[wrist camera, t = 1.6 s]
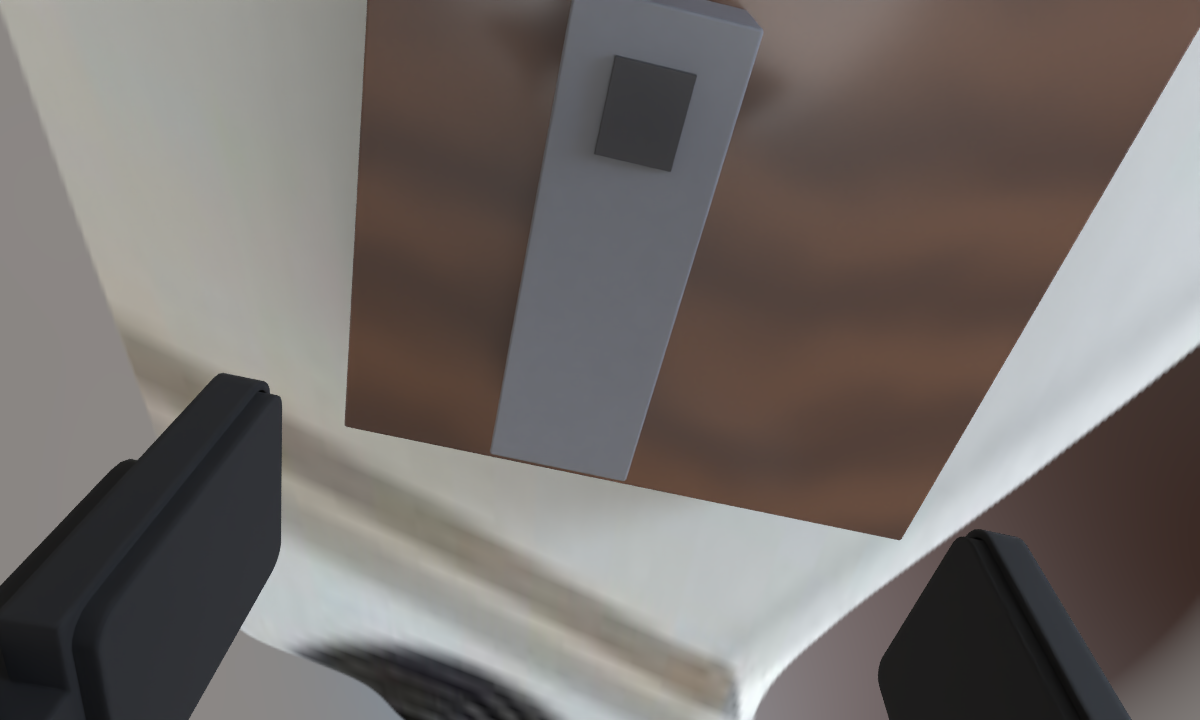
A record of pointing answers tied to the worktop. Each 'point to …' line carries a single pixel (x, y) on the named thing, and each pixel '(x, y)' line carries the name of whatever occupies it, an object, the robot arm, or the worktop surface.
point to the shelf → (760, 230)
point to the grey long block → (618, 222)
